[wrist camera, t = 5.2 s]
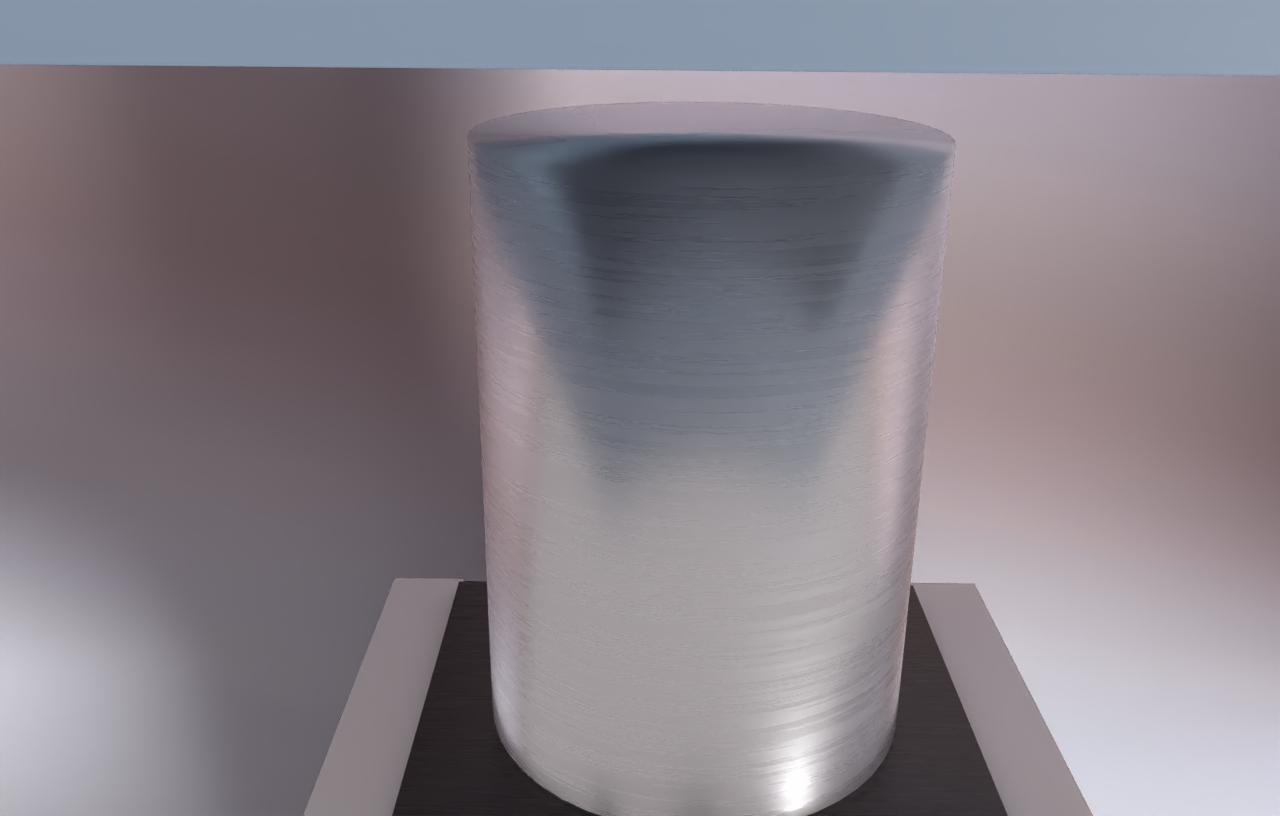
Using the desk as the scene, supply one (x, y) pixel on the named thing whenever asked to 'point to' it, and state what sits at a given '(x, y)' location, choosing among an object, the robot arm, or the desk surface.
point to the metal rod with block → (700, 473)
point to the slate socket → (657, 35)
